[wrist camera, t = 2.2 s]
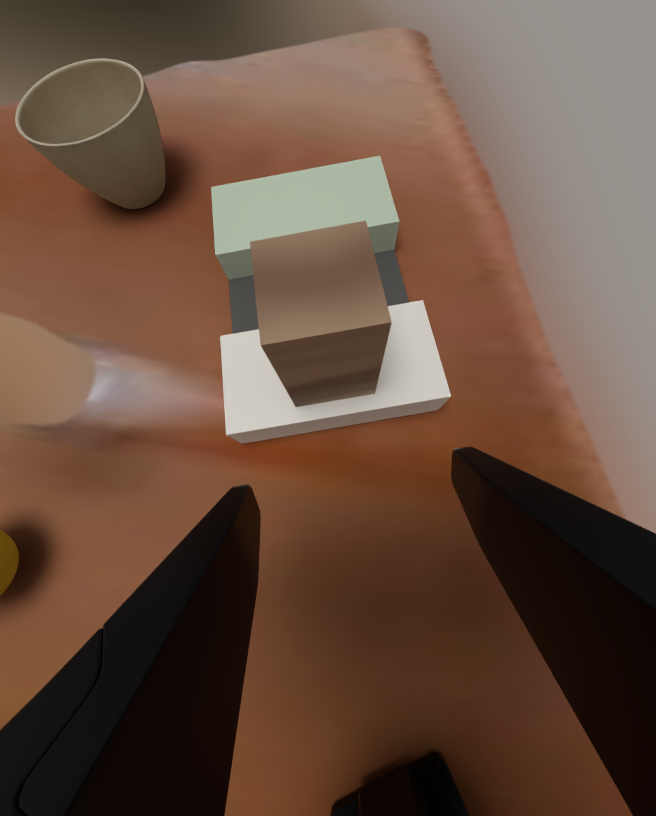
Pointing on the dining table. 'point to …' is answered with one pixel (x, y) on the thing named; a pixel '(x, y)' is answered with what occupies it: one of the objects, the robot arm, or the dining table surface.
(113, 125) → the flower pot
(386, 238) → the board
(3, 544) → the lemon
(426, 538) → the dining table surface
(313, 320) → the walnut block
